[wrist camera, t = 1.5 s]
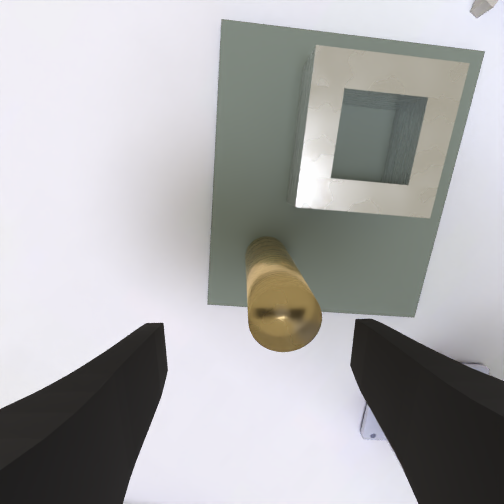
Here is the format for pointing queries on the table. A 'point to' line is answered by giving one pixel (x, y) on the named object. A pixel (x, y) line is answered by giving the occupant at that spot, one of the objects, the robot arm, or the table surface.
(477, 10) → the pliers
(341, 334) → the table surface
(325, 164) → the silver square socket
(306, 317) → the pin
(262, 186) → the mat
